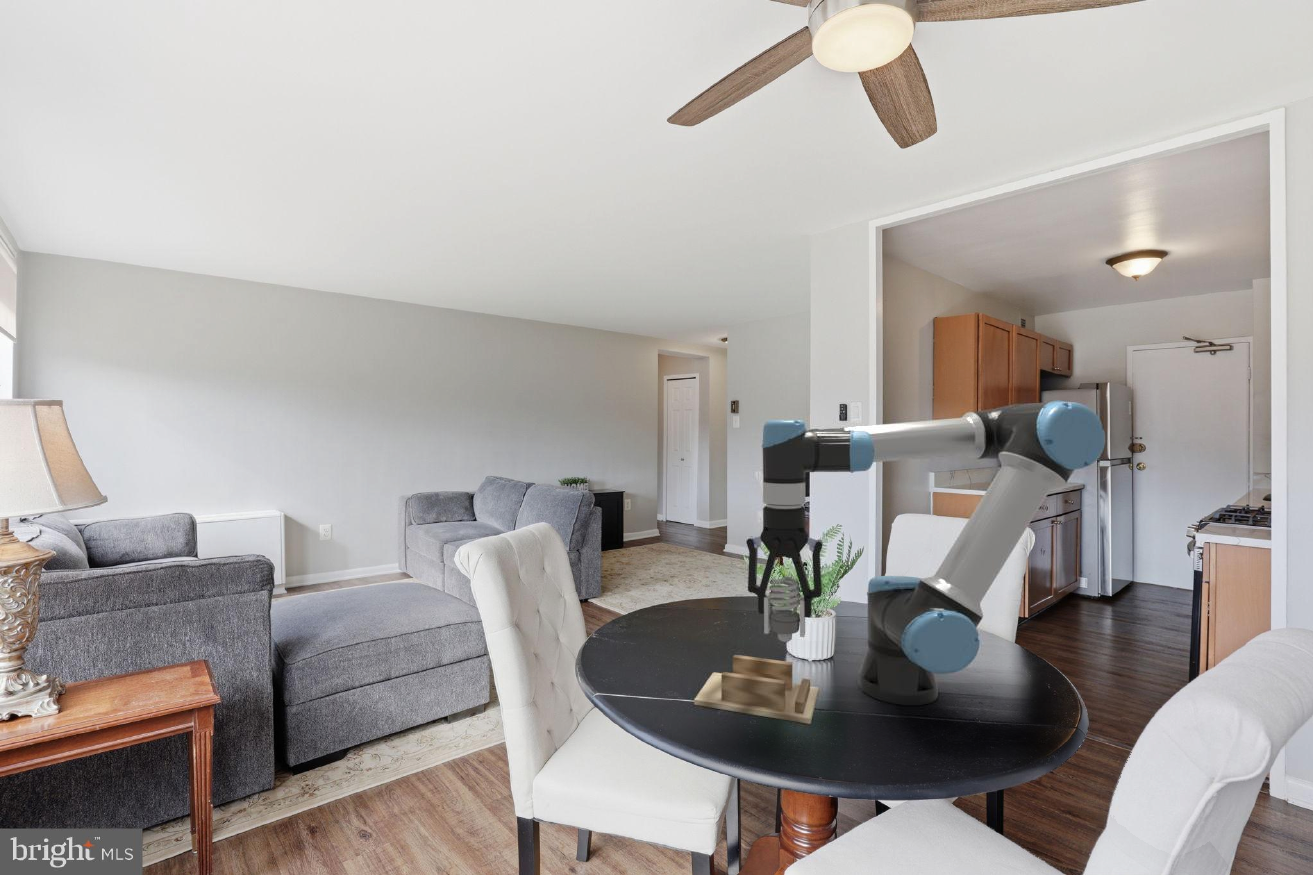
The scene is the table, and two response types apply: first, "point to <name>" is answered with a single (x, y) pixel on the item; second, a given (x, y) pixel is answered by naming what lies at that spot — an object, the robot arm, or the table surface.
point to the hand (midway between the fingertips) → (784, 632)
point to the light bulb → (785, 608)
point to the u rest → (760, 690)
